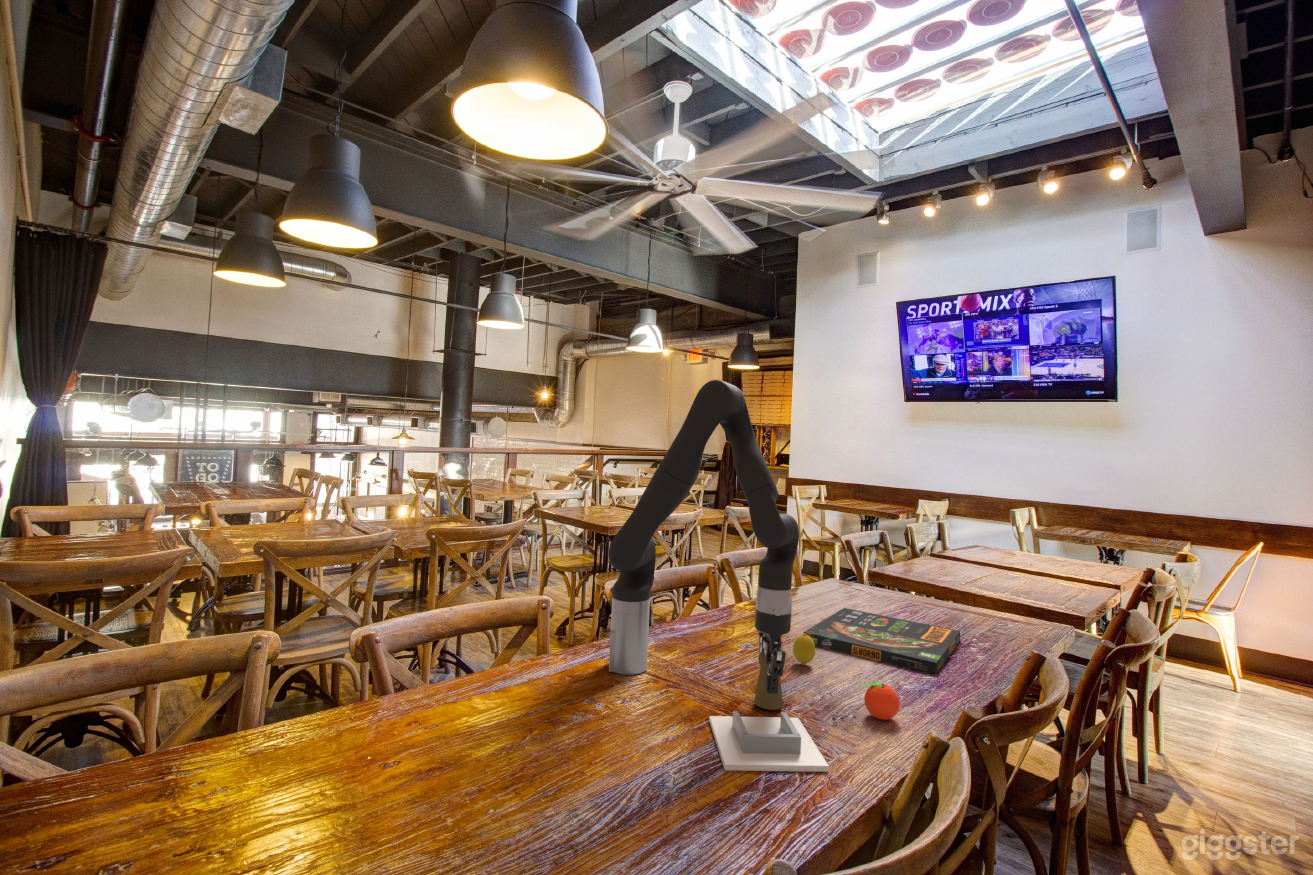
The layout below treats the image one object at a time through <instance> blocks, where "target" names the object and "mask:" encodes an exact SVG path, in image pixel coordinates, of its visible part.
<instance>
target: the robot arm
mask: <svg viewBox="0 0 1313 875" xmlns="http://www.w3.org/2000/svg"><path fill="white" fill-rule="evenodd" d="M719 425H720V426H721V428H722V429H723V432H725V434H726V437H727V439H728V441H729V444H730V447H731V451H732V455H733V464H734V471H735V474H736V477H737V480H738V483H739V486H740V488H741V491H742V492H743V495H744V497H745V499H746V501H747V505H748V512H749V516H750V522H751V526H752V530H753V533H754V536H755V537H756V539H757V540H758V542H759V543H760V545H761V546H763V547H765V548H766V549H767V550H766V551H767V552H766V554H765V556H764V557H763V558H762V559H761V560H760V562H759V566H758V575H757V576H758V577H757V579H758V580H757V590H756V595H755V596H756V597H755V608H754V609H755V610H754V611H755V613H754V614H755V615H754V628H755V629H756V631H759V632H758V649H759V650H758V652H759V654H760V653H761V652H762V651H764V650H765V662H766V663H767V664H768V667H767V692H768V693H769V694H776V693H777V692H778V676H781V677H783V674H784V667H785V662H786V656H787V653H786V651H785V650H784V642H783V641H782V636H783V635H786V634H787V635H788V633H790V632H791V627H792V626H791V624H792V604H793V598H792V597H793V595H792V585H793V584H792V583H793V582H792V581H793V565H794V562H795V559H796V556H797V551H798V547H799V541H800V529H799V524H798V522H797V520H796V519H795V518H794V517H793V516H792V515H790V514H788V513H779V511H778V510H779V509H778V506H777V503H776V501H777V500H778V499H779V491H778V488H777V486H776V483H775V481H774V479H773V477H772V473H771V472H770V470H769V468H768V465H767V463H766V461H765V459H764V457H763V454H762V451H761V449H760V446H759V443H758V441H757V438H756V435H755V431H754V428H753V425H752V422H751V418H750V414H749V409H748V405H747V402H746V398H745V395H744V393H743V392H742V390H741V389H740V388H739V387H737V386H736V385H734V384H732V383H729V382H727V381H724V380H721V379H712V380H710V381H709V380H708V381H707V382H706V383H704V384H703V385H702V386H701V387H700V389H699V390H698V392H697V393H696V395H695V397H694V400H693V402H692V404H691V406H690V408H689V411H688V413H687V415H686V417H685V419H684V422H683V424H682V426H681V428H680V429H679V431H678V433H677V435H676V436H675V438H674V439H673V441H672V443H671V445H670V447H669V449H668V450H667V452H666V454H665V455H664V457H663V458H662V459H661V462H660V463H659V465H658V466H657V468H656V470H655V471H654V473H653V475H652V477H651V478H650V480H649V482H648V484H647V486H646V487H645V489H644V491H643V492H642V495H641V496H640V498H639V500H638V502H637V504H636V505H635V507H634V509H633V511H631V514H630V515H629V516H628V518H627V520H626V521H625V522H624V523H623V525H622V526H621V528H620V529H619V530H618V531H617V533H616V534H615V536H614V537H613V538H612V540H611V542H610V545H609V547H608V560H609V563H610V564H611V566H612V567H613V568H614V569H615V570H617V571H619V572H620V573H619V576H618V578H617V580H616V581H615V582H614V583H613V585H612V589H611V590H612V593H611V594H612V595H611V597H612V598H611V617H610V619H611V620H610V635H609V655H608V656H609V657H608V672H609V673H616V674H619V675H628V676H629V675H639V674H642V673H644V672H645V671H646V670H647V669H648V651H649V650H648V648H649V625H650V604H651V591H652V588H653V585H654V581H655V572H656V561H657V560H656V558H657V551H656V548H657V547H656V544H655V541H654V539H653V537H654V535H655V533H656V532H657V530H658V529H659V527H660V526H661V525H662V524H663V523H664V522H665V521H666V520H667V519H668V518H669V517H670V516H671V515H672V514H673V513H674V512H675V510H677V508H678V507H679V506H680V505H681V504H682V502H683V501H684V500H685V499H686V497H687V496H688V494H689V493H690V491H691V489H692V488H693V486H694V484H695V482H696V481H697V479H698V477H699V474H700V470H701V467H702V461H703V455H704V452H705V448H706V445H707V443H708V441H709V439H710V438H711V436H712V435H713V433H714V431H715V430H716V429H717V427H718V426H719ZM768 656H769V657H772V658H771V660H769V658H768ZM775 667H777V669H776V670H774V668H775Z"/></svg>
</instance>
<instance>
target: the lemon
mask: <svg viewBox="0 0 1313 875" xmlns="http://www.w3.org/2000/svg"><path fill="white" fill-rule="evenodd" d="M792 652H793V653H792V654H793V657H794V658H795V660H796V661H797V662H800V664H801V665H803V666H805V665H806V664H808V663H810V662H812V661H813V660H814V658H815V655H816V645H815V644H814V641H813V640H812V638H811V637H809V636H808V635H806V634H804V633H802V634H799V635H798V636H796V637H795V639H794V641H793V645H792Z"/></svg>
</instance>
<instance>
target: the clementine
mask: <svg viewBox="0 0 1313 875" xmlns="http://www.w3.org/2000/svg"><path fill="white" fill-rule="evenodd" d="M868 686H869V687H868ZM865 687H868V688H867V689H866V692H865V693H864V696H863V698H864V705H865V707H866V708H865V709H866V710H867V711H868V713H869V714H870V715H871V716H873V718H876V719H879V720H883V721H888V720H890V719H893V718H894V717H896V715H897V714H898V712H900V706H901V701H900V699H899V695H898V693H897V692H896V690H894V688H893V687H891V686H890V685H888V684H885V683H881V682H879V683H876V682H872V683H868V684H865V685H863V686H862V687H861V688H860V690H859V692H861V691H862V689H863V688H865Z"/></svg>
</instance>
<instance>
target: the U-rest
mask: <svg viewBox="0 0 1313 875" xmlns="http://www.w3.org/2000/svg"><path fill="white" fill-rule="evenodd" d="M708 718H709V719H708V720H709V721H708V722H709V725H710V727H711V731H712V733H713V737H714V740H715V743H716V744H715V745H716V748H717V750H718V754H719V757H720V759H721V764H722V767H723V769H724V771H738V772H739V771H743V772H745V771H746V772H747V771H749V772H752V771H753V772H755V771H756V772H812V773H814V772H817V773H818V772H821V773H822V772H824V773H829V770H830V765H829V764H828V762H827V761H826V760H825V758H824V756H823V754H822V753H821V751H820V749H819V748H818V746H817V745H816V743H815V742H814V741H813V739H812V737H811V736H810V734H809V733H808V731H807V730H806V728H805V726H804V725H803V724H802V723H803V722H801V720H800V718H799V717H790V716H789V714H788V713H787V711H781V712H780V717H779V716H778V717H777V716H773V717H772V716H741V714H740V713H739V711H738V710H732V716H731V715H730V716H727V715H726V716H725V715H724V716H723V715H722V716H721V715H709V717H708Z"/></svg>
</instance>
